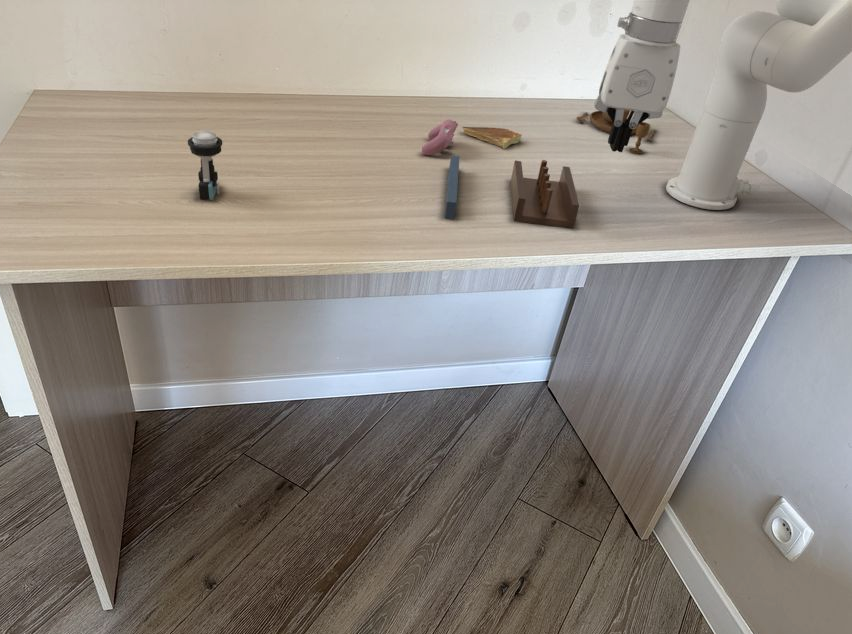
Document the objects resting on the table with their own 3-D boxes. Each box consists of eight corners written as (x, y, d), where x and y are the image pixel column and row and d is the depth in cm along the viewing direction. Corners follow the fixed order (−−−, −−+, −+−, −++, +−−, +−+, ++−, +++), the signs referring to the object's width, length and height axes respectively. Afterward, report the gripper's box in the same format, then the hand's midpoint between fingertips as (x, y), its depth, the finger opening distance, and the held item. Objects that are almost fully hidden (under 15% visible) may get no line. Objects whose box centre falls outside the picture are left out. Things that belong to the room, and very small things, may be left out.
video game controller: (438, 166, 135) (458, 137, 130) (418, 152, 134) (438, 123, 130) (444, 148, 142) (464, 120, 138) (426, 135, 142) (445, 107, 137)
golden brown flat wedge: (461, 133, 146) (462, 125, 145) (481, 126, 150) (483, 117, 149) (503, 149, 140) (504, 141, 139) (523, 141, 145) (525, 132, 144)
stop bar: (457, 171, 130) (459, 156, 128) (454, 219, 114) (456, 202, 112) (448, 170, 130) (451, 155, 128) (444, 218, 114) (446, 201, 112)
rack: (564, 188, 127) (571, 160, 124) (573, 228, 115) (581, 198, 111) (510, 182, 128) (516, 153, 124) (513, 221, 115) (520, 190, 112)
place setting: (658, 128, 158) (666, 102, 155) (644, 155, 144) (652, 128, 140) (583, 111, 164) (590, 86, 160) (562, 136, 149) (569, 109, 145)
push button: (197, 182, 117) (191, 125, 111) (229, 184, 117) (225, 127, 111) (190, 200, 112) (184, 140, 106) (223, 201, 112) (219, 142, 106)
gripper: (606, 29, 100) (573, 151, 111) (709, 42, 99) (665, 163, 110) (599, 18, 106) (568, 135, 117) (696, 31, 105) (656, 146, 116)
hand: (615, 148), depth 114 cm, fingers closed
